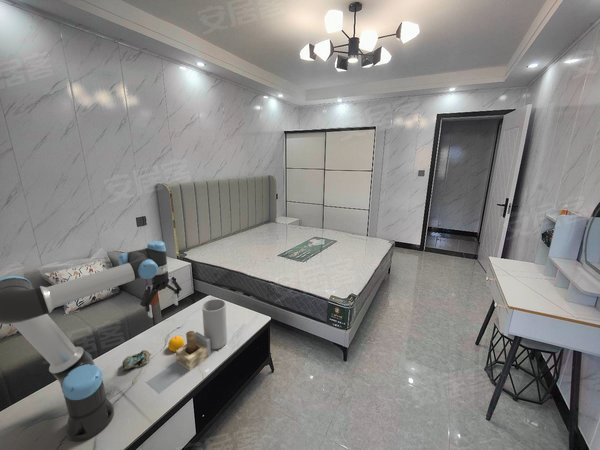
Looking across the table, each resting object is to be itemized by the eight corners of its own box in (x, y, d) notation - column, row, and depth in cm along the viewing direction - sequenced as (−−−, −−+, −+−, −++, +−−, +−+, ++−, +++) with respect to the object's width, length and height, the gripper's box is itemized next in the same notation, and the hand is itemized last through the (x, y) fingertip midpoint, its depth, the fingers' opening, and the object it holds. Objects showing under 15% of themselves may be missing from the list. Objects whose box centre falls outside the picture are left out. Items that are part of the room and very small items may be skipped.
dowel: (191, 360, 136) (189, 336, 132) (186, 356, 138) (184, 333, 134) (197, 355, 139) (196, 332, 136) (193, 352, 141) (191, 329, 138)
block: (189, 370, 132) (188, 359, 130) (176, 361, 137) (175, 350, 136) (207, 357, 141) (207, 347, 139) (194, 349, 146) (194, 339, 145)
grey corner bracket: (159, 395, 119) (156, 375, 116) (146, 384, 124) (143, 364, 122) (211, 356, 143) (209, 339, 140) (198, 348, 148) (196, 331, 145)
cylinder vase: (200, 347, 149) (197, 309, 143) (212, 334, 161) (210, 297, 154) (220, 352, 146) (218, 312, 140) (230, 337, 158) (229, 300, 152)
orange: (173, 356, 142) (172, 344, 140) (166, 349, 147) (164, 338, 145) (187, 348, 148) (186, 337, 146) (179, 342, 153) (178, 331, 151)
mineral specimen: (122, 375, 128) (127, 361, 127) (119, 362, 134) (124, 348, 134) (149, 370, 136) (154, 357, 136) (146, 359, 143) (150, 346, 142)
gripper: (136, 283, 117) (142, 325, 122) (186, 265, 137) (189, 301, 142) (128, 279, 121) (134, 319, 126) (178, 262, 141) (181, 297, 146)
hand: (163, 310), depth 134 cm, fingers open, 13 cm apart
